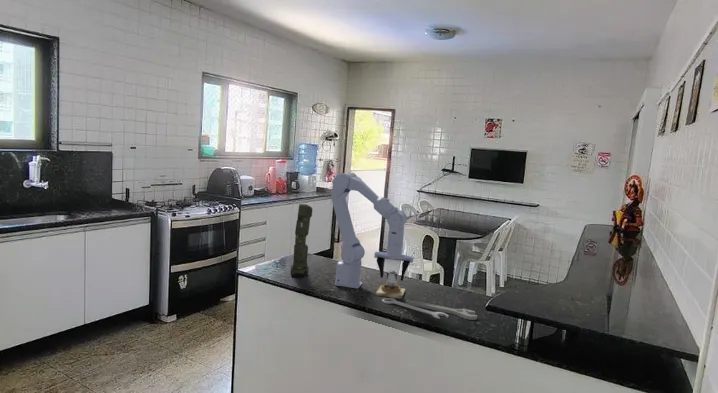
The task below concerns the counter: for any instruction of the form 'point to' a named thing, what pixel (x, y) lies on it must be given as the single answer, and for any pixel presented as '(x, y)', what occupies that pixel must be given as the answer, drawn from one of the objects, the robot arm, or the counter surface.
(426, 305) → the adjustable wrench
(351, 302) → the counter surface
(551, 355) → the counter surface
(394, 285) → the clear glass cylinder
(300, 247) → the mechanical leg
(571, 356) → the counter surface
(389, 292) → the socket
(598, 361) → the counter surface
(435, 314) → the wrench
